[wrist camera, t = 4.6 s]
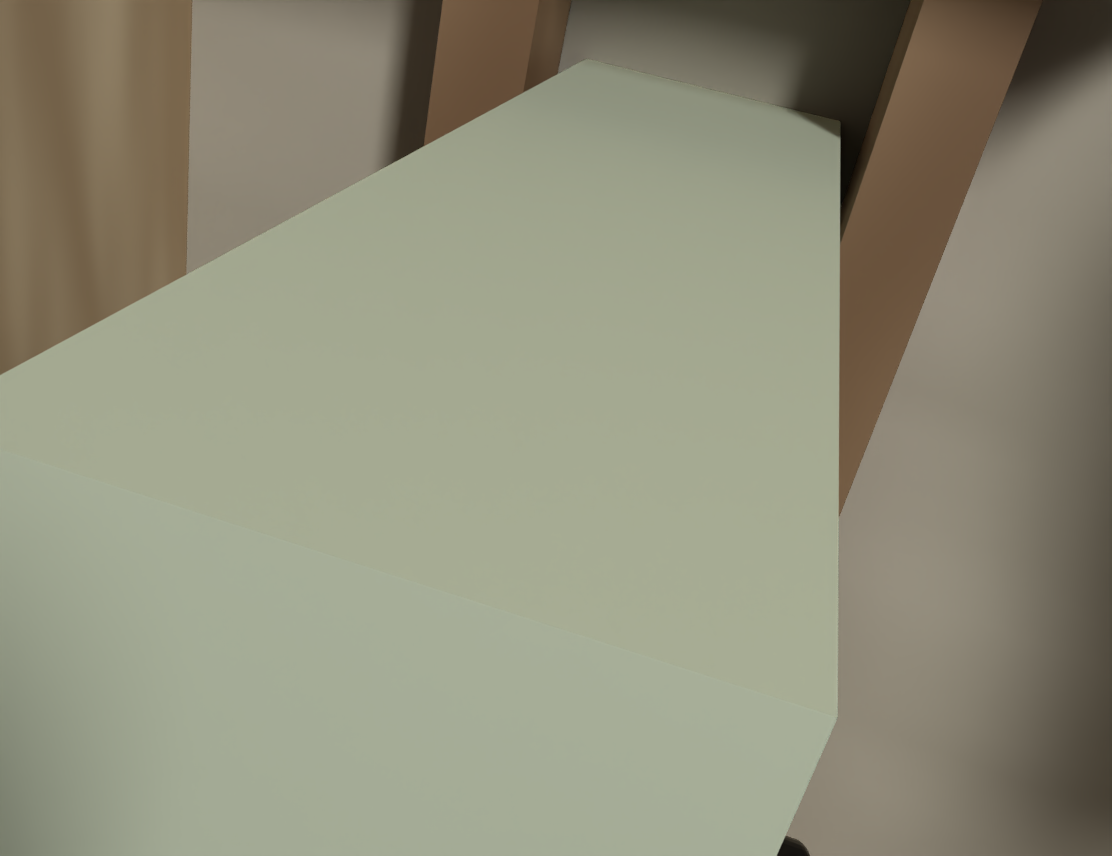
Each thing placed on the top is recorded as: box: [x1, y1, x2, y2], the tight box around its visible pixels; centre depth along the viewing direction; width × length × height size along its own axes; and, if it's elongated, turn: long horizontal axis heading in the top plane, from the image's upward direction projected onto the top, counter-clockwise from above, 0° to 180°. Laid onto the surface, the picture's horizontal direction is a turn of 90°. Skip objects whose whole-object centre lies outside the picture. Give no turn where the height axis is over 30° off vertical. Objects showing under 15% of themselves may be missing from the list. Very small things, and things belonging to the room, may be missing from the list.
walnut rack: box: [424, 0, 1043, 516], centre depth 13 cm, size 15×17×3 cm
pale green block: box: [0, 59, 840, 856], centre depth 10 cm, size 3×9×10 cm, turn 169°
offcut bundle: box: [0, 0, 192, 375], centre depth 13 cm, size 2×11×4 cm, turn 169°
